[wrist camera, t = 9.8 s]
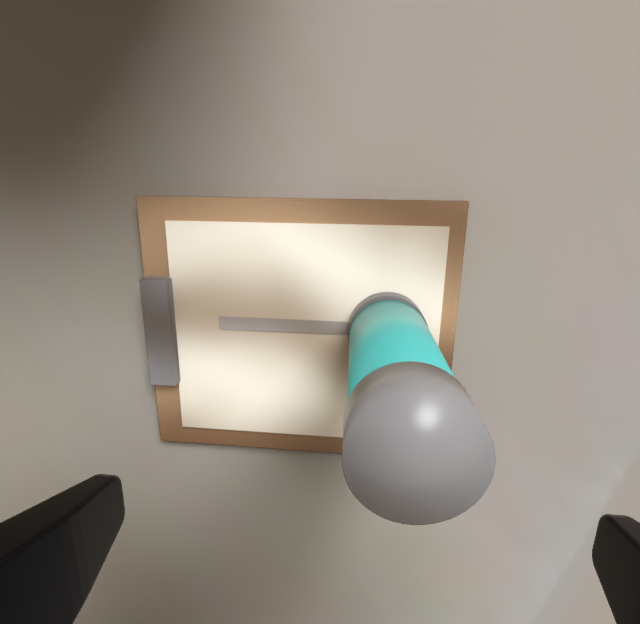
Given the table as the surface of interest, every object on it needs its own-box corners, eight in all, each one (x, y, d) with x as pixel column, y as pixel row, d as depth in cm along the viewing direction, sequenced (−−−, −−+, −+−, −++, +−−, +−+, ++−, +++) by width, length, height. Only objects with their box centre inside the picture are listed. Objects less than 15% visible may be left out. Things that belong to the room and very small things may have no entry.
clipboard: (439, 453, 21) (444, 471, 20) (166, 433, 23) (153, 449, 21) (465, 200, 18) (473, 202, 17) (142, 195, 19) (126, 196, 18)
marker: (422, 366, 19) (486, 529, 10) (346, 363, 20) (340, 520, 10) (428, 291, 18) (505, 397, 9) (348, 289, 19) (344, 390, 9)
